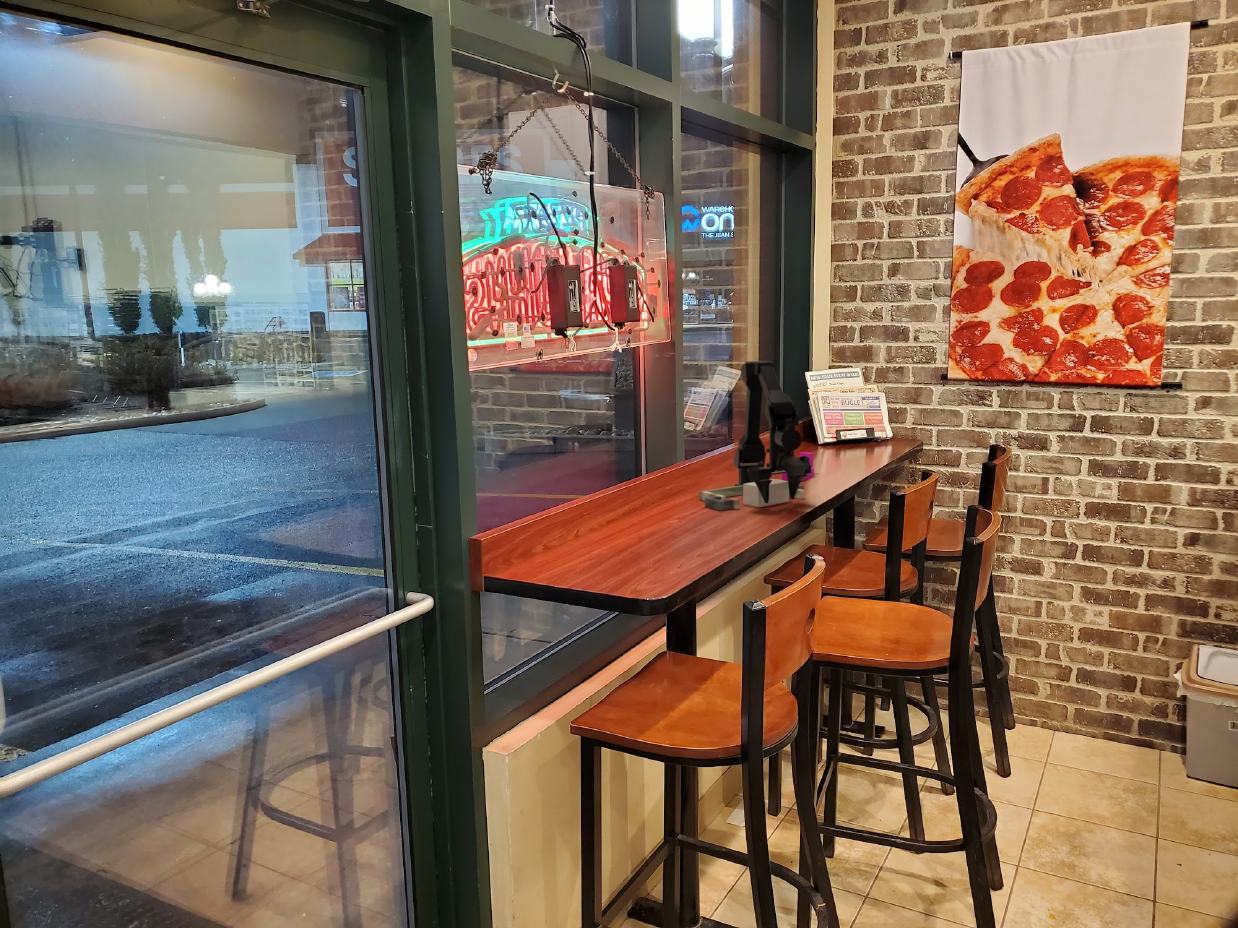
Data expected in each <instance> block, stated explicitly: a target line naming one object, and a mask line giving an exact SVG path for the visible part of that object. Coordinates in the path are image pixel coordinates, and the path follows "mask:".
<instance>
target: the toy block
mask: <svg viewBox="0 0 1238 928" xmlns="http://www.w3.org/2000/svg"><path fill="white" fill-rule="evenodd" d="M801 456H808V457H809V462H810V465H811V467H812V473H809V474H807V475H808V476H807V477H805V478H804V479H802V480H801V482H803V481H805V480H808V479H811V478H813V477H815V467H814V452H807V451H806V452H804V451H803V452H800V453H799V457H801ZM781 480H784V481H788V478H787V473H782V474H781Z"/></svg>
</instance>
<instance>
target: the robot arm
mask: <svg viewBox="0 0 1238 928" xmlns="http://www.w3.org/2000/svg"><path fill="white" fill-rule="evenodd" d="M774 363H775V362H774V361H771V360H757V361H755V360H752V361H745V362H744V363H743V364H742V365H741V367H740V375H741V379H742V383H743V384H744V385H745V388H746V400H745V419H744V431H743V432H744V434H743V435H742V437H740V439H739V441H738V444H737V445H738V446H737V449H736V451H735V454H734V457H733V466H734V467H735V468H736V469H738V483H735V484H734V486H740V485H743V484H746V483H752V482H755V484H756V485H757V487H758V489H759V491H760V493H761V495H762V497H763V500H764V502H765V503H768V502H769V485H770V483H771V482H772V480H770V479H772V478H771V477H772V476H773V475H782V473H787V478H788V486H789V494H790V497H789V499H790V500H794V499H796V498H795V495H796V492H797V489H798V487H799V485H801V482H802V481H801V480H802V479H804V478H805V477H807V476H808V475H807V474H809V473H812V467H811V465H810V462H809V457H808V456H801V457H800V456H795V451H796V450H798V449H799V448H800V446H801V445H802V442H803V437H802V434H801V433H800V432H799V431H798V430H797V429H796V426H797V427H798V426H799V425H800V423H799V422H800V417H799V413H798V410H797V408H796V406H795V404H794V402H793V400H792V399H791V397H790V396H789V395H788V394H787V393H784V391H783V389H782V387H781V384H780V382H779V379H778V376H777V374H776V371H775V364H774ZM763 393H764V396H765V398H766V404H765V407H764V414H765V415H764V416H765V418H766V420H767V423H768V427H769V432H768V433H769V439H768V440H769V443H768V444H769V445H768V446H769V448H766V449H765V445H764V443H763V441H762V440H761V438H760V431H761V419H762V417H761V415H762V404H763V403H762V402H763ZM767 453H768V455H769V457H768V458H769V462H768V463H766V456H767ZM765 464H766V465H765ZM765 466H766V467H765Z"/></svg>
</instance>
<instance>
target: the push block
mask: <svg viewBox="0 0 1238 928" xmlns="http://www.w3.org/2000/svg"><path fill="white" fill-rule="evenodd" d="M770 480H772V482H771V483H770V485H769V502H768V503H765V502H764V500H763V497H762V495H761V493H760V491H759V489H758V487H757V485H756V484H755V482H752V483H746V484H743V496H742V497H743V500H742V501H743V502H742V504H743V505H746V506H751V507H756V508H763V507H768V506H772V505H778V504H782V503H783V504H784V503H789V502H790V497H789V486H788V481H786V480H782V479H777V478H770Z"/></svg>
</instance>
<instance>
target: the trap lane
mask: <svg viewBox="0 0 1238 928" xmlns="http://www.w3.org/2000/svg"><path fill="white" fill-rule="evenodd" d="M804 487H805V485H803V484H799V487H798V489H797V492H796V495H795V498H794V499H799V500H802V499H803V500H804V499H805V498H806V496H805V495H806V493H805V492H806V491H805V488H804ZM698 494H699V496H698V497H699V499H698V500H700V501H703V502H704V507H705V508H709V509H713V510H715V511H726V510H727V511H728V510H732V509H733V510H738V509H739V510H740V509H741V508H740V505H741V504H740V503H741V502H740V499H737V498H734V496H742V495H743V485H740V486H735V485H733V486H728V487H727V486H726V487H720V488H713V489H712V488H711V489H706V490H705V489H704V490H700V491H699V493H698ZM728 497H733V498H728ZM726 498H727V499H726ZM789 498H790V494H789Z"/></svg>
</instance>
